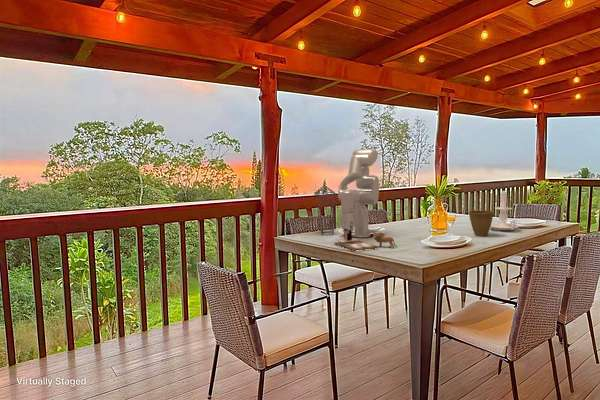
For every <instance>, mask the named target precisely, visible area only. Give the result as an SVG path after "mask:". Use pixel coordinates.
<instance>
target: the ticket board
mask: <svg viewBox="0 0 600 400" xmlns="http://www.w3.org/2000/svg"><path fill="white" fill-rule="evenodd" d="M357 240H358V241H352V242H344V243H341V242H338V241H335V242H334V245H335V244H336V245H335V246H337V245H339V246H338V247H340V246H341V247H340V248H342V247H344V248H343V249H345V248H347V249H350V250H353V251H356V250H365V249H374V250H376V249H375V248H378V249H379V246H377V245H374V244H371V243H368V242H365V241H362V240H360V239H357ZM347 249H346V250H347ZM350 250H349V251H350ZM353 251H352V252H353Z"/></svg>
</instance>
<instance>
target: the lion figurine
mask: <svg viewBox="0 0 600 400" xmlns="http://www.w3.org/2000/svg"><path fill="white" fill-rule="evenodd" d="M372 238H373V240H374V241H376V242H377V243H379V246H378V248H382V245H383V243H384V244H385V243H389V247H388V248H391V249H395V248H398V246H397V245H396V243H395V238H393V236H384V235H383V234H381V233H380V232H376V231H374V232H372Z"/></svg>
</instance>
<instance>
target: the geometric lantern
mask: <svg viewBox="0 0 600 400" xmlns="http://www.w3.org/2000/svg"><path fill="white" fill-rule="evenodd" d="M322 190H323V191H322ZM321 191H322V192H321ZM328 191H329V192H328ZM313 194H314V198H315V201H316V203H317V230H318V231H320V233H321V235H322V236H323V235H325V236H327V235H329V236H330V235H331V236H332V235H334V231H335V230H336V229H337V223H336V215H335V205H334V202H335V199H336V195H337V193H336V191H333V190H332V189H331V188H330V187H328V186H326V185H323V186H321V187H320V188H319V189H318V190H317V191H315V192H314V193H313ZM317 197H318V198H320V203H319V200H318V198H317ZM331 197H333V199H332V200H333V201H331V200H330V198H331ZM324 200H327V202H323V201H324ZM327 205H330V211H331V224H329V225H328V227H331V228H322V227H326V225H322V214H321V213H322V207H325V206H327ZM319 221H320V222H319Z"/></svg>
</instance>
